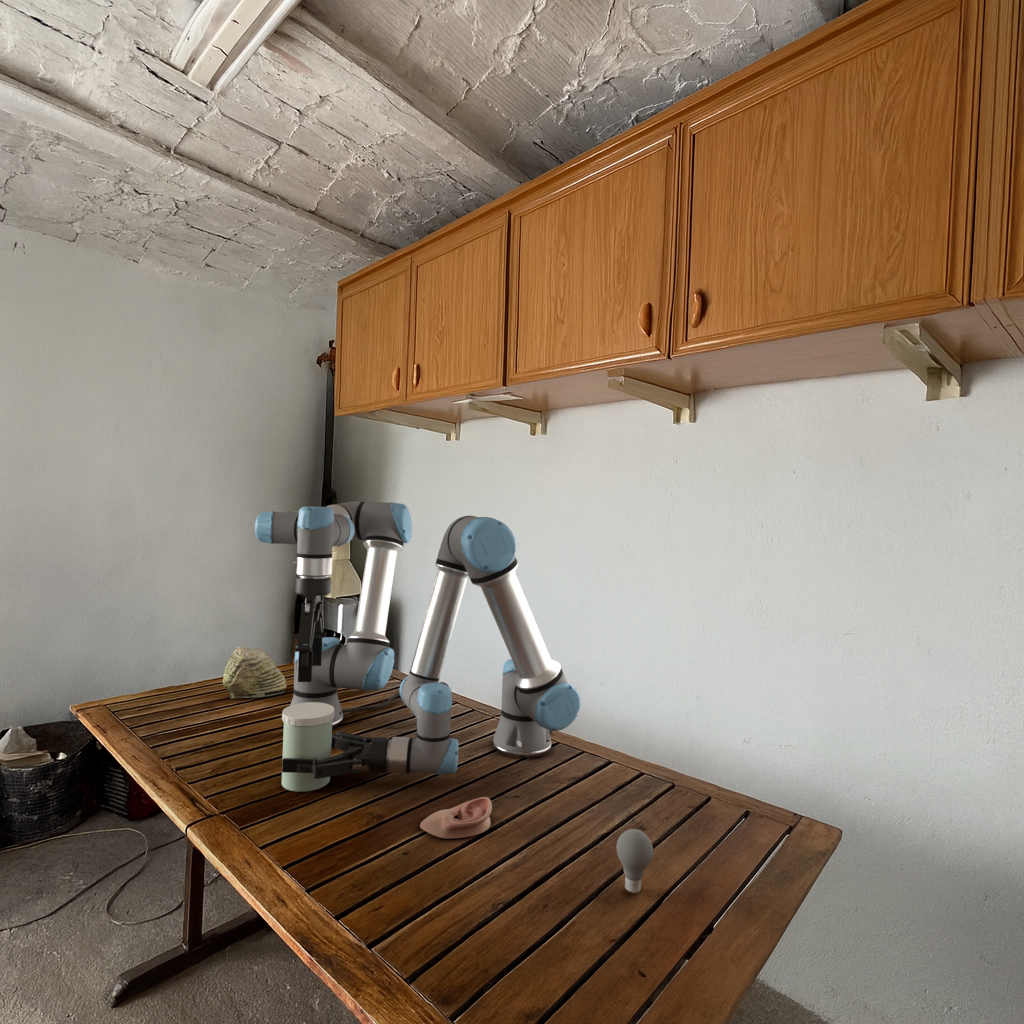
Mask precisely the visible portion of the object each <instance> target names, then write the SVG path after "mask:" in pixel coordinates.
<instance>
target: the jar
mask: <svg viewBox="0 0 1024 1024" xmlns="http://www.w3.org/2000/svg"><path fill="white" fill-rule="evenodd" d="M282 731H283V735H282V757H281V758H282V760H281V761H282V762H283V758H298V759H314V758H316V759H317V760H322V759H326V758H330V757H332V749H331V741H332V734H333V729H332V720H331V721H329V722H327V723H324V724H321V725H316V726H304V727H303V726H292V725H288V724H286V723H284V722H283V730H282ZM282 762H281V763H282ZM330 781H331V776H330V777H324V778H319V779H314V775H313V773H290V772H282V771H281V786H282V788H284V789H285V790H287V791H292V792H297V793H298V792H299V793H300V792H303V793H304V792H312V791H315V790H319V789H321V788H324V787H325V786H326V785H328V784H329V783H330Z"/></svg>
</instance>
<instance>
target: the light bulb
mask: <svg viewBox="0 0 1024 1024" xmlns="http://www.w3.org/2000/svg"><path fill="white" fill-rule="evenodd" d="M615 849H616V854H617V857H618V859H619V861H620V863H621V865H622V867H623V873H624V874H623V875H624V876H625V878H624V888H625V890H627V891H628V892H630V893H634V894H635V893H639V892H640V891H641V889H642V887H641V886H642V879H643V877H644V875H645V871H646V868H647V867H648V866H649V864H650V863H651V861H652V859H653V855H654V847H653V843H652V841H651V838H649V836H648V835H647V834H646V833H645V832H643V831H642V830H641V829H636V828H629V829H627V830H625V831H623V832H622V833H621V834H620V835H619V837H618V839H617V841H616V847H615Z"/></svg>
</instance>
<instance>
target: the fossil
mask: <svg viewBox="0 0 1024 1024" xmlns="http://www.w3.org/2000/svg"><path fill="white" fill-rule="evenodd" d="M222 676H223V677H222V685H223V687H224V688H225V690H226V691H228V693H229V698H230V699H250V698H264V697H271V696H275V695H281V694H284V693H285V691H286V689H287V687H288V686H287V680H286V678H285V676H284V674H283V673H282V672H281V669H279V668H278V667H277V665H276V663H275V662H274V660H273V659H272V658H271V657H270V656H269V655H268V654H267V653H266V652H265V650H264V649H263V648H260V647H258V648H251V647H247V646H246V647H245V646H238V647H237V648H236V649H235V650H233V651H232V653H231V656H230V657H229V659H228V660H227V663H226V666H225V668H224V671H223V675H222Z"/></svg>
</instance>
